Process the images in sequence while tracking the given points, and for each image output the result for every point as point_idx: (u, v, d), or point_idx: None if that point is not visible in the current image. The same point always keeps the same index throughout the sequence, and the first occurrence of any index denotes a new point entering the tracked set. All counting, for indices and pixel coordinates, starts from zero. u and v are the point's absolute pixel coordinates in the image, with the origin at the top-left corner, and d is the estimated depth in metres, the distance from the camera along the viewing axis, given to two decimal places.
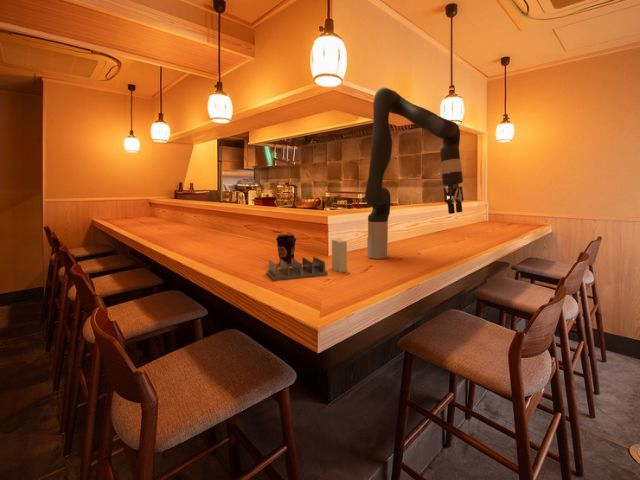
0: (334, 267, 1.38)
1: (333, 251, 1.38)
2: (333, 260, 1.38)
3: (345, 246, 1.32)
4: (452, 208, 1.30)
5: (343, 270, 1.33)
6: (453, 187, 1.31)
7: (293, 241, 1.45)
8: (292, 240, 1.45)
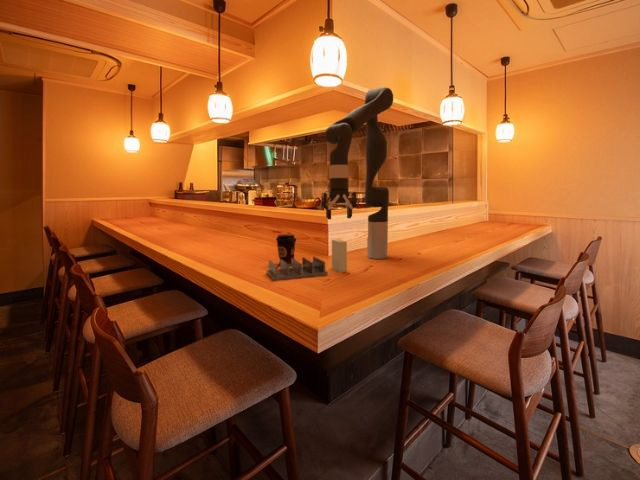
0: (334, 267, 1.38)
1: (333, 251, 1.38)
2: (333, 260, 1.38)
3: (345, 246, 1.32)
4: (328, 214, 1.31)
5: (343, 270, 1.33)
6: (333, 193, 1.31)
7: (293, 241, 1.45)
8: (292, 240, 1.45)
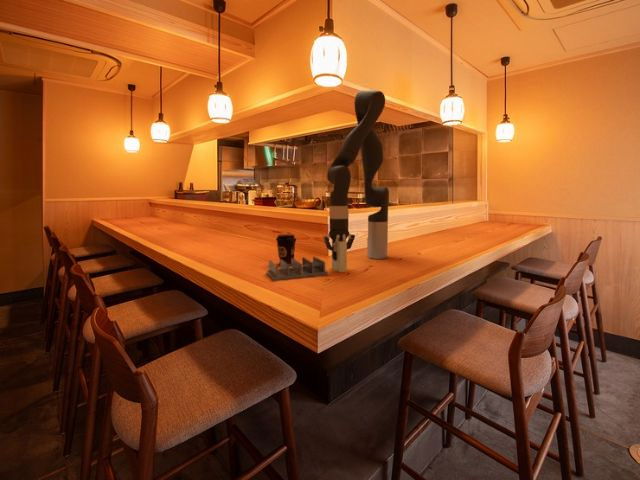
0: (334, 267, 1.38)
1: None
2: (333, 260, 1.38)
3: (345, 246, 1.32)
4: (334, 255, 1.35)
5: (343, 270, 1.33)
6: (333, 233, 1.33)
7: (293, 241, 1.45)
8: (292, 240, 1.45)
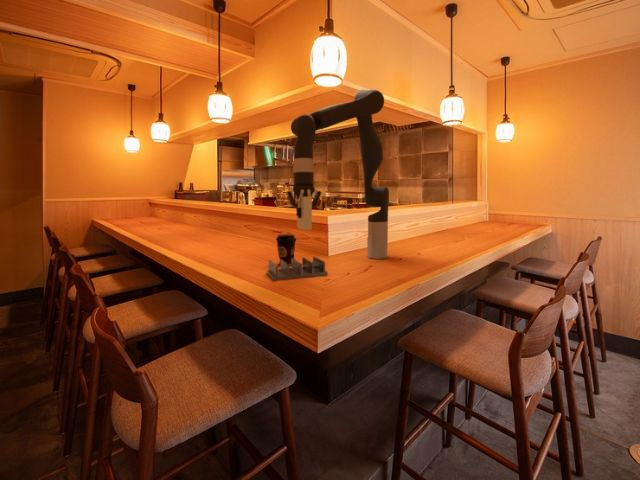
0: (299, 226, 1.29)
1: None
2: (298, 218, 1.30)
3: (310, 201, 1.24)
4: (298, 212, 1.26)
5: (308, 227, 1.25)
6: (297, 188, 1.25)
7: (293, 241, 1.45)
8: (292, 240, 1.45)
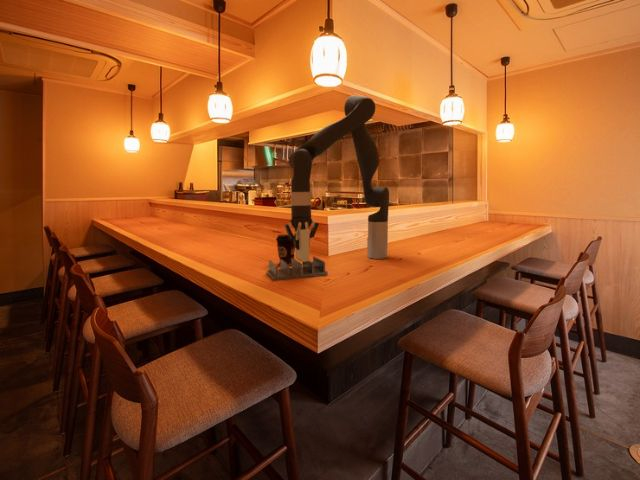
0: (297, 257, 1.31)
1: None
2: (296, 249, 1.32)
3: (307, 234, 1.26)
4: (296, 244, 1.28)
5: (305, 259, 1.27)
6: (294, 220, 1.27)
7: (293, 241, 1.45)
8: (292, 240, 1.45)
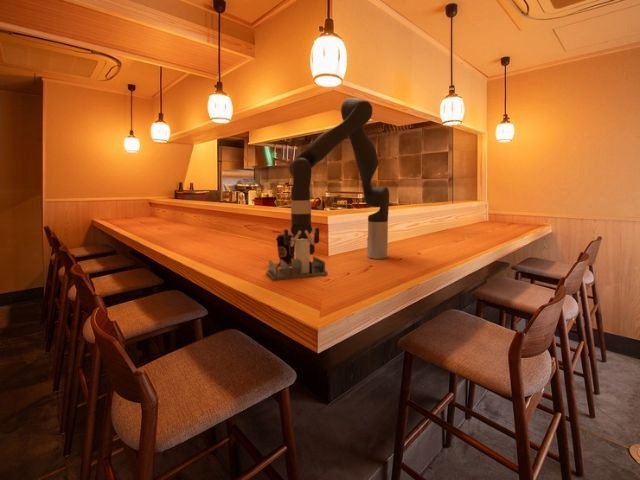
0: None
1: (296, 251, 1.32)
2: None
3: (307, 246, 1.27)
4: (291, 251, 1.28)
5: (305, 271, 1.28)
6: (295, 229, 1.27)
7: None
8: None
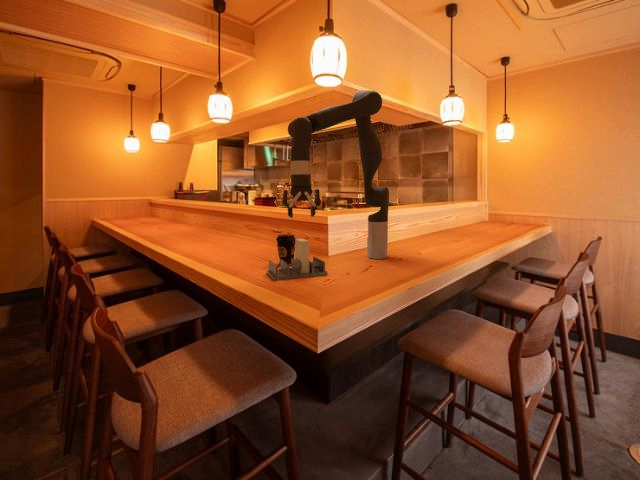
0: None
1: (296, 251, 1.32)
2: None
3: (307, 246, 1.27)
4: (289, 212, 1.26)
5: (305, 271, 1.28)
6: (295, 190, 1.25)
7: (293, 241, 1.45)
8: (292, 240, 1.45)
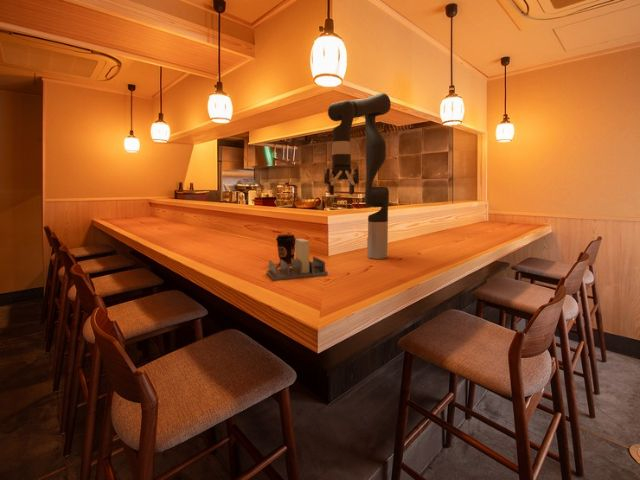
0: None
1: (296, 251, 1.32)
2: None
3: (307, 246, 1.27)
4: (331, 190, 1.35)
5: (305, 271, 1.28)
6: (336, 169, 1.34)
7: (293, 241, 1.45)
8: (292, 240, 1.45)
